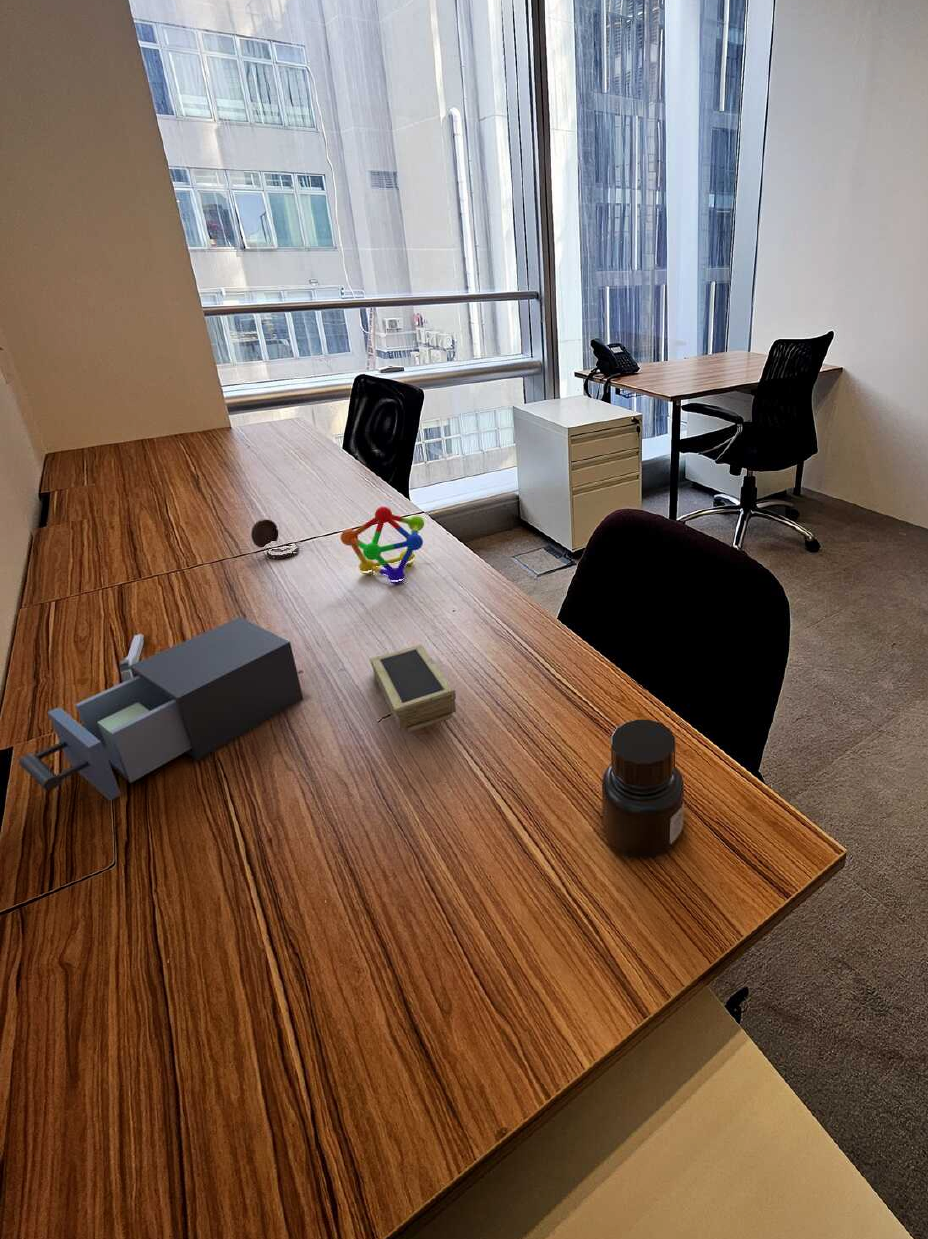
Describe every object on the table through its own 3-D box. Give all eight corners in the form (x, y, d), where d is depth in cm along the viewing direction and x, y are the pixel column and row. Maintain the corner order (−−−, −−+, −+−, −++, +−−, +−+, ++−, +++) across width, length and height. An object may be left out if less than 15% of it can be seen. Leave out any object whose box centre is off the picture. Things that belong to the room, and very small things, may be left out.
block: (124, 765, 79) (113, 735, 78) (108, 751, 82) (96, 722, 80) (164, 743, 83) (155, 714, 81) (147, 730, 85) (137, 702, 83)
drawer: (65, 827, 72) (41, 772, 69) (25, 785, 78) (1, 732, 75) (227, 733, 86) (213, 684, 83) (183, 704, 92) (168, 657, 89)
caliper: (140, 703, 93) (127, 666, 91) (131, 706, 93) (118, 669, 90) (144, 637, 109) (133, 604, 107) (136, 639, 109) (125, 606, 106)
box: (402, 746, 83) (395, 710, 82) (366, 681, 102) (361, 651, 100) (465, 724, 87) (460, 689, 86) (420, 665, 106) (415, 636, 105)
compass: (284, 561, 136) (277, 529, 133) (254, 556, 138) (246, 524, 135) (312, 546, 143) (306, 515, 140) (283, 541, 145) (277, 511, 142)
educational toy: (378, 605, 121) (357, 532, 114) (350, 581, 130) (329, 513, 123) (452, 571, 130) (436, 503, 123) (421, 551, 139) (406, 486, 132)
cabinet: (197, 760, 83) (177, 698, 79) (149, 725, 89) (129, 665, 85) (303, 698, 94) (290, 641, 90) (254, 671, 100) (240, 616, 97)
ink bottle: (696, 852, 70) (700, 764, 65) (616, 873, 67) (615, 783, 63) (664, 786, 78) (666, 704, 74) (593, 802, 76) (590, 719, 71)
